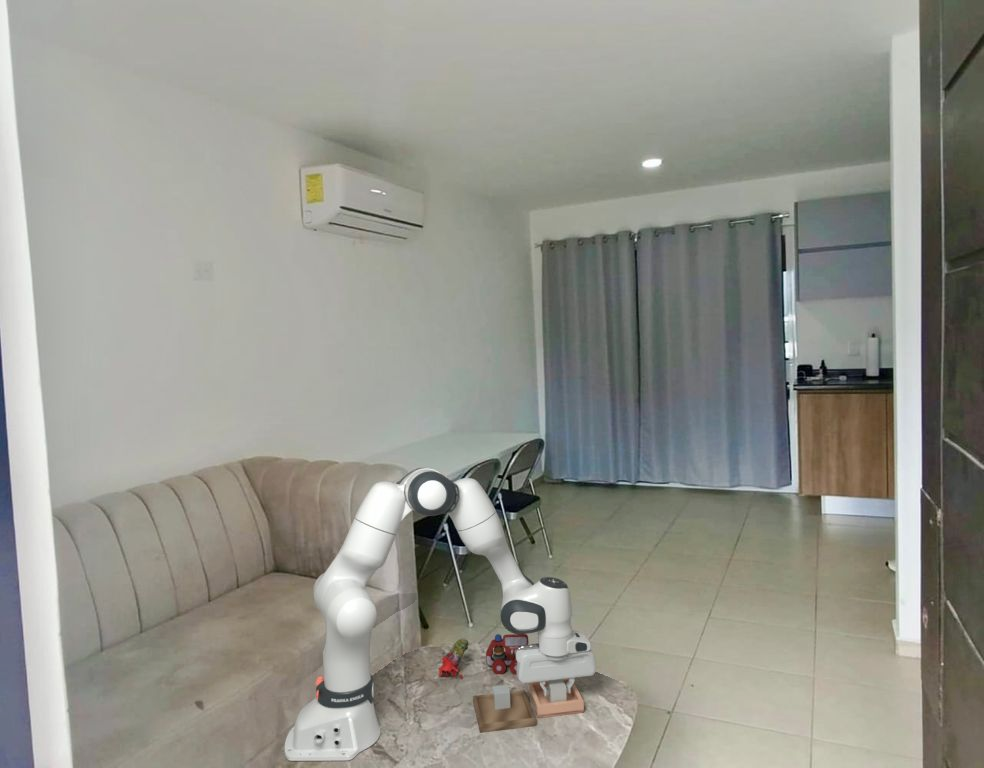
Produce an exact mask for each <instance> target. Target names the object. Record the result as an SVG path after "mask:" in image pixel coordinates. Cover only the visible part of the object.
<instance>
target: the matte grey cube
mask: <svg viewBox="0 0 984 768" xmlns="http://www.w3.org/2000/svg"><path fill="white" fill-rule="evenodd" d="M547 687H549V689H550V696H548V697H549V699H550V702H551V703H554V702H562V701H567V699H566V685H565V683H564V681H563V679H557V680H549V681H547Z"/></svg>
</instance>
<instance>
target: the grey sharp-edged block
mask: <svg viewBox="0 0 984 768" xmlns="http://www.w3.org/2000/svg"><path fill="white" fill-rule="evenodd" d="M491 687H492V688H491V690H492V693H491V694H492V695H493V704H494V708H495V710H497V709H505V708H510V692H511V691H510V689H509V686H508V684H502V685H493V686H491Z"/></svg>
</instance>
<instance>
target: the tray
mask: <svg viewBox="0 0 984 768" xmlns="http://www.w3.org/2000/svg"><path fill="white" fill-rule="evenodd" d="M509 692H510V708H505V709H497V710H495V708H494V704H493V695H492V693H487V694H479V695H473V696H472V703H473V708H474V712H475V718H476V722H477V727H478V730H479V733H480V734H482V733H489V732H498V731H505V730H511V729H512V730H514V729H521V728H530V727H536V726H537V718H536V716H535V712H534V711H533V708H532V705H531V703H530V702H531V701H530V700H529V696H528V694H527V692H526V689H522V690H521V689H520V690H513V691H509Z"/></svg>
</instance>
